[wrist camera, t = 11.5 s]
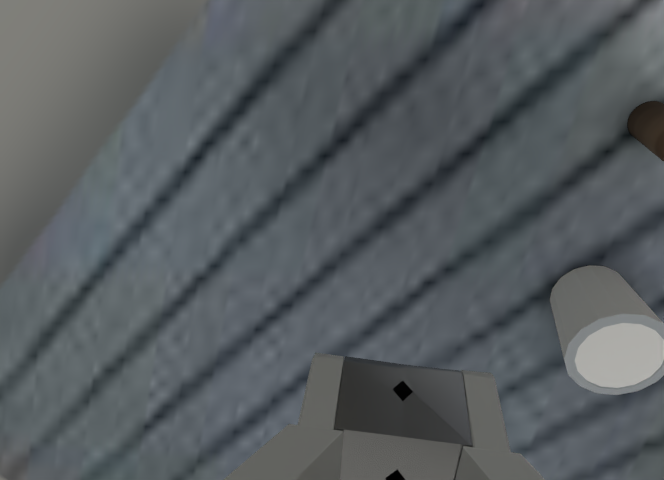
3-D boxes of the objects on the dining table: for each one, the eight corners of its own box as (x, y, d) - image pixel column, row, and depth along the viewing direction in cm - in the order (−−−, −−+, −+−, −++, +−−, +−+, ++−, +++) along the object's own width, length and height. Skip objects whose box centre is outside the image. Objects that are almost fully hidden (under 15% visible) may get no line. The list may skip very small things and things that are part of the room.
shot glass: (617, 242, 39) (656, 298, 33) (650, 311, 41) (693, 374, 35) (526, 282, 41) (547, 340, 35) (562, 344, 44) (588, 409, 37)
